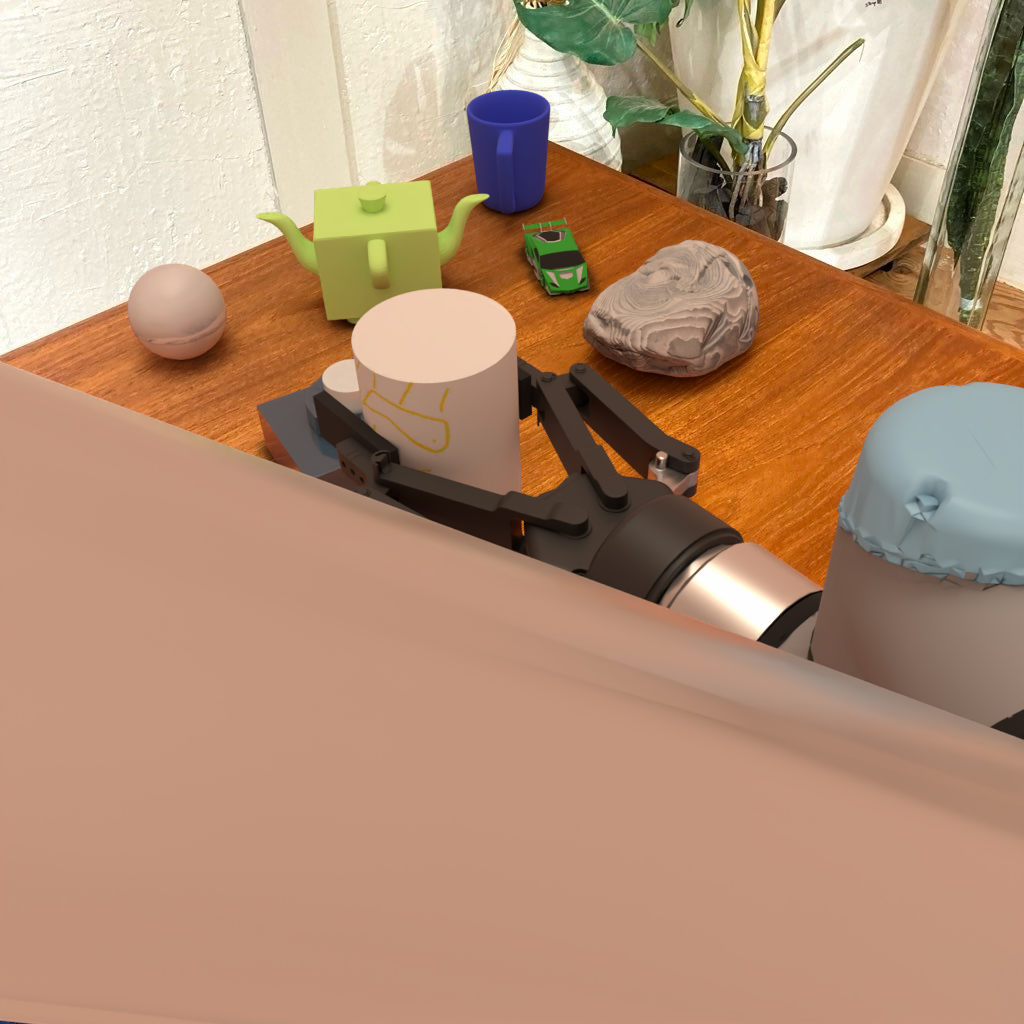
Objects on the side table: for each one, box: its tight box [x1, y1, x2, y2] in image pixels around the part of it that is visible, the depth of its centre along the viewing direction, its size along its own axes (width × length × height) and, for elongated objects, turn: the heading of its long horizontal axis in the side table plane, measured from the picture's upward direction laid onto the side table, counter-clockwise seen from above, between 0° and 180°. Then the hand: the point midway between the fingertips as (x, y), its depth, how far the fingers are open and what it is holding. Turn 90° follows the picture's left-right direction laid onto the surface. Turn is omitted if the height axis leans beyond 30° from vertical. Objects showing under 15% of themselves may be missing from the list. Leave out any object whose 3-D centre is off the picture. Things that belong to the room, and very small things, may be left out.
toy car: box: [521, 217, 590, 296], centre depth 100 cm, size 10×5×2 cm, turn 13°
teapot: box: [255, 179, 489, 325], centre depth 94 cm, size 15×13×11 cm
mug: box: [466, 89, 551, 215], centre depth 106 cm, size 8×12×10 cm
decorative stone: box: [582, 239, 760, 378], centre depth 89 cm, size 15×14×10 cm
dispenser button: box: [321, 358, 363, 414], centre depth 78 cm, size 4×4×2 cm
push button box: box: [256, 374, 364, 491], centre depth 80 cm, size 12×10×6 cm
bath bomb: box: [127, 262, 228, 361], centre depth 90 cm, size 8×8×8 cm
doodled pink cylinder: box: [350, 287, 523, 495], centre depth 57 cm, size 8×8×12 cm
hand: (389, 379), depth 59 cm, fingers closed on doodled pink cylinder, 8 cm apart
